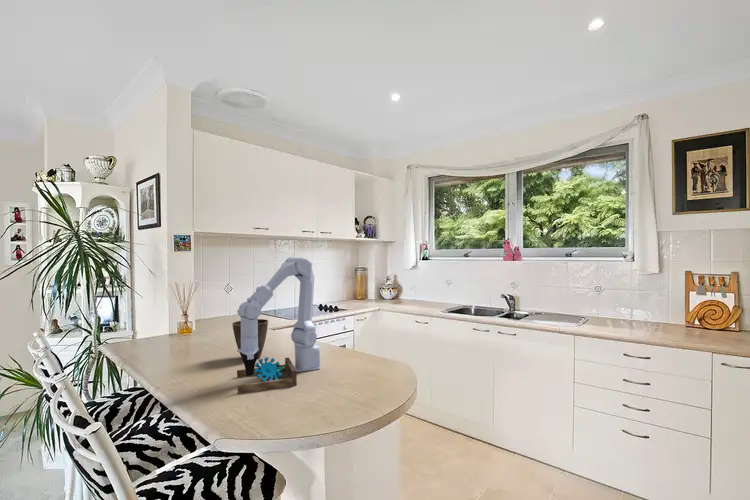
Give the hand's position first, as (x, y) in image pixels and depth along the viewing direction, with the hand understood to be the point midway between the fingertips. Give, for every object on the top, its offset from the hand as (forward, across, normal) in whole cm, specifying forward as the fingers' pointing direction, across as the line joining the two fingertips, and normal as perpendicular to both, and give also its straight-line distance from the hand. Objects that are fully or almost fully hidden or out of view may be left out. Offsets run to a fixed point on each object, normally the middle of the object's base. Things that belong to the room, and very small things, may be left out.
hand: (249, 374), depth 129 cm
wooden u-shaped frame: (+3, 0, +5) cm, 6 cm away
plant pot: (+3, -33, +2) cm, 33 cm away
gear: (+3, 0, +7) cm, 8 cm away
